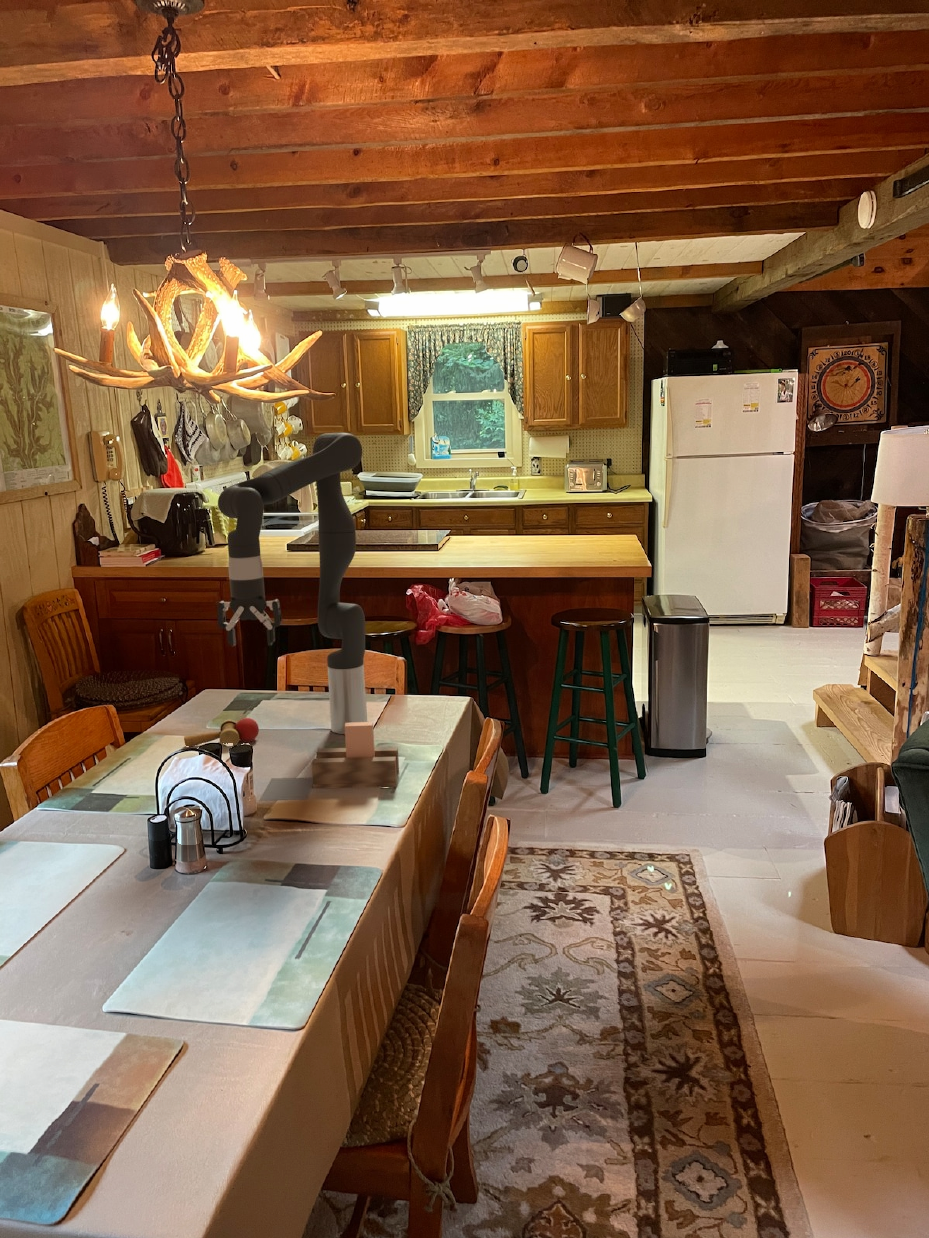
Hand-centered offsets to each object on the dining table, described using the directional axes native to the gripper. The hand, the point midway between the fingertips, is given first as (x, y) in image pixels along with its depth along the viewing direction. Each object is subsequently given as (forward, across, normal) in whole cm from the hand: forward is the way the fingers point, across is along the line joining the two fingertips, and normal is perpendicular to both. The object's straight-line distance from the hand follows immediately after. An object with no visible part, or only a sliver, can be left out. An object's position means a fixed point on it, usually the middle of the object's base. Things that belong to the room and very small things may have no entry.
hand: (251, 645), depth 209 cm
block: (+27, -26, +14) cm, 40 cm away
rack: (+28, -25, +14) cm, 40 cm away
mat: (+28, -10, +19) cm, 35 cm away
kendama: (+28, +12, -12) cm, 33 cm away
